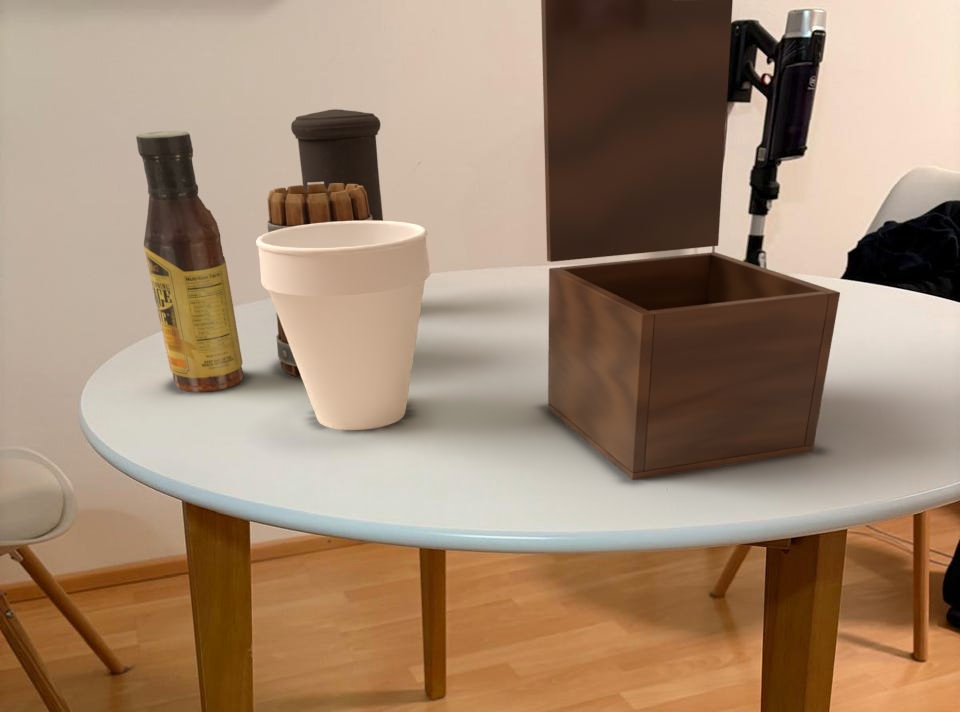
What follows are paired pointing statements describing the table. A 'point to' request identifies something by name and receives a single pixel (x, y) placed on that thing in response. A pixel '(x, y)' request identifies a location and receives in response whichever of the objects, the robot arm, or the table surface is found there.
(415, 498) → the table surface
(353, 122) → the container
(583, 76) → the lid
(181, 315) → the sauce bottle
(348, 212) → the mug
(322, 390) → the white flower pot
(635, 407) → the chest
